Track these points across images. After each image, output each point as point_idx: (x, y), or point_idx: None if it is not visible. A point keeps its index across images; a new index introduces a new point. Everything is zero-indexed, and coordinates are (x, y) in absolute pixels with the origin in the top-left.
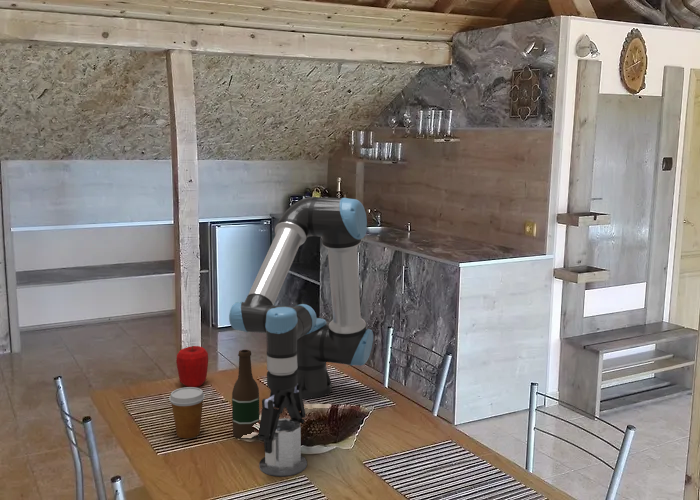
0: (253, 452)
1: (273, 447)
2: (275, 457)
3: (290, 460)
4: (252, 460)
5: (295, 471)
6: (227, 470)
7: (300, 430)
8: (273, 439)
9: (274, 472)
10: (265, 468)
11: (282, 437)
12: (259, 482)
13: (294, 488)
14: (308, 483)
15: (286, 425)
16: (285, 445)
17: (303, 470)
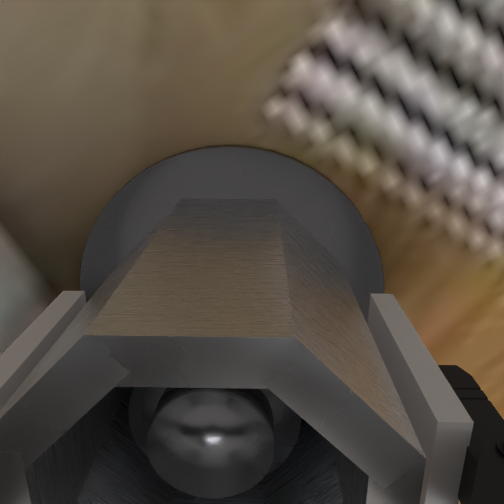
0: None
1: (440, 377)
2: (389, 319)
3: (291, 229)
4: None
5: (291, 169)
6: None
7: (105, 306)
8: (449, 439)
9: (365, 278)
10: None
11: (378, 384)
12: (481, 294)
13: (469, 56)
14: (365, 5)
15: (71, 502)
16: (336, 313)
17: (225, 145)
